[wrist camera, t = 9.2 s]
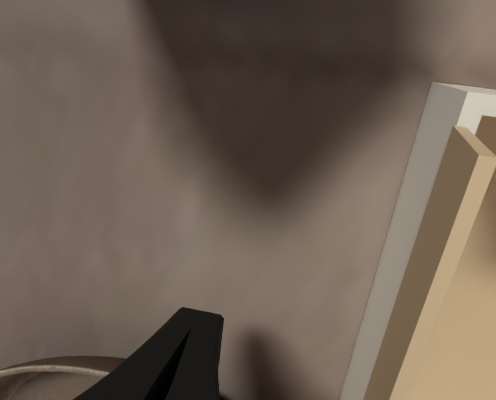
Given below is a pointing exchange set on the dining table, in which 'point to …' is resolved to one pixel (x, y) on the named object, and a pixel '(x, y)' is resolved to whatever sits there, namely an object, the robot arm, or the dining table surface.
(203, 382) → the robot arm
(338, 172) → the dining table surface
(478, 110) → the carton
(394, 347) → the flap
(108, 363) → the plant saucer
